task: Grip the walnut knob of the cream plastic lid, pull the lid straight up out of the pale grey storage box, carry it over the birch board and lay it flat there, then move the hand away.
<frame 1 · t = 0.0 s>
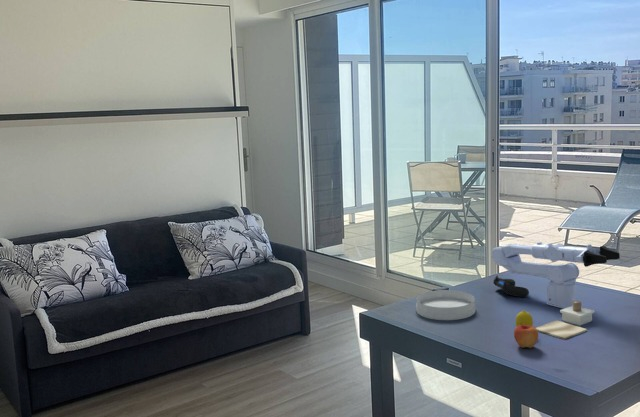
hand: (612, 257, 222), 22 cm above the table, tool horizontal, fingers open, 7 cm apart
dish: (445, 311, 244), on the table
lemon: (524, 334, 216), on the table
apple: (526, 347, 204), on the table
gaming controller: (509, 293, 261), on the table
lid: (577, 312, 224), point 3 cm above the table, touching storage box
birch board: (560, 330, 217), on the table
storage box: (577, 320, 225), on the table
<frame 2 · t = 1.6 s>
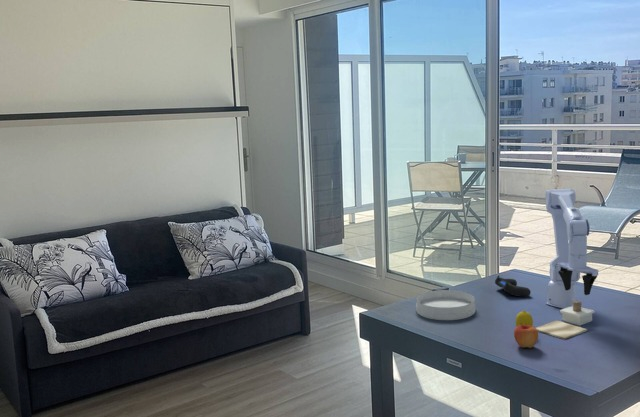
hand: (577, 292, 223), 10 cm above the table, tool pointing down, fingers open, 7 cm apart
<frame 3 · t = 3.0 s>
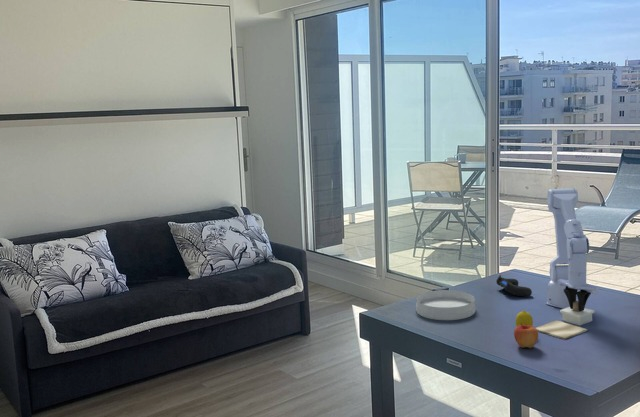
hand: (577, 309, 224), 4 cm above the table, tool pointing down, fingers closed on lid, 3 cm apart
lid: (577, 312, 224), point 3 cm above the table, touching gripper, storage box
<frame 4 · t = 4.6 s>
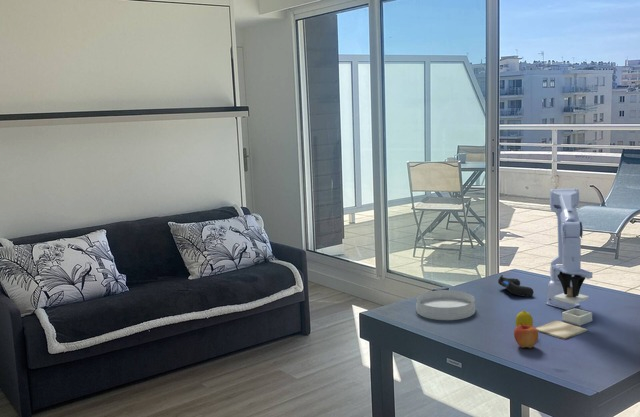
hand: (571, 295, 220), 11 cm above the table, tool pointing down, fingers closed on lid, 3 cm apart
lid: (571, 298, 220), point 9 cm above the table, touching gripper
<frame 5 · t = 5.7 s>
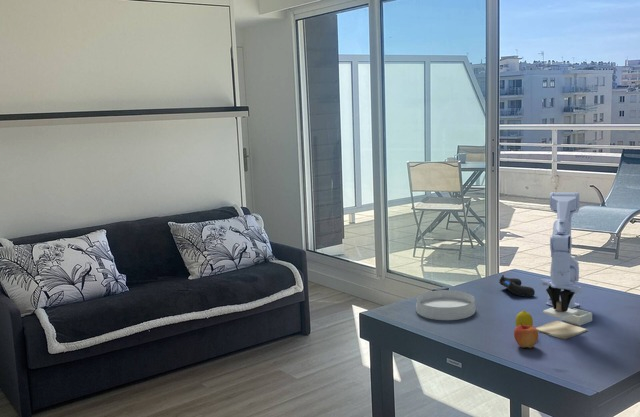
hand: (560, 309, 215), 7 cm above the table, tool pointing down, fingers closed on lid, 3 cm apart
lid: (560, 313, 216), point 6 cm above the table, touching gripper
when the fingers open (4 cm above the table, at t = 6.5 s): lid drops 1 cm, resting on birch board.
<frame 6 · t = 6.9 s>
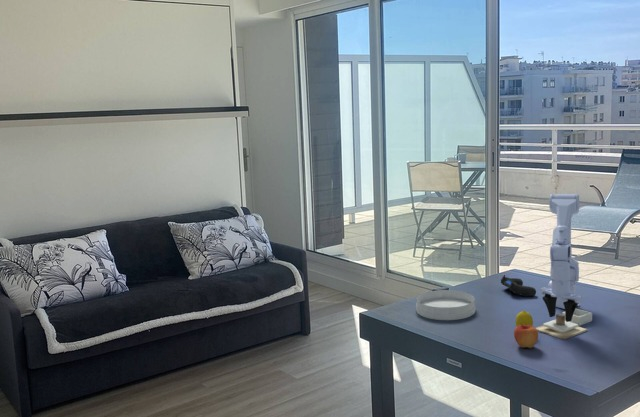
hand: (560, 318, 216), 4 cm above the table, tool pointing down, fingers open, 6 cm apart
lid: (560, 326, 216), point 1 cm above the table, touching birch board
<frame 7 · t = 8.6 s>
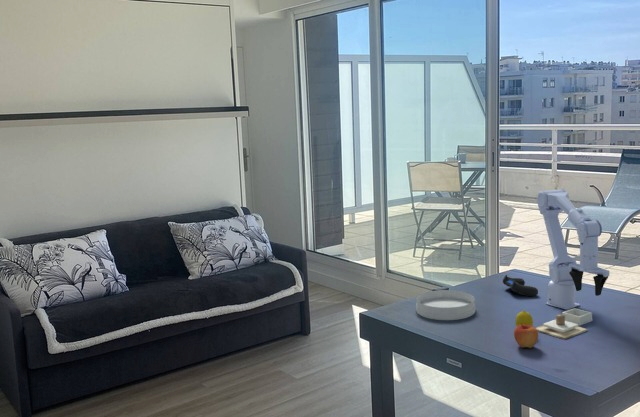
hand: (588, 292, 225), 9 cm above the table, tool pointing down, fingers open, 7 cm apart
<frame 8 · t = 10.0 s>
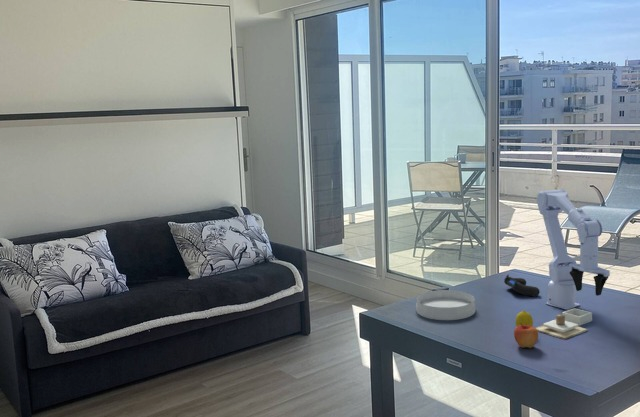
hand: (588, 292, 225), 9 cm above the table, tool pointing down, fingers open, 7 cm apart
at the end: lid inside the target area on the birch board (0.1 cm from its centre), point 1.4 cm above the birch board's base; lid tilted 0°; the gripper is holding nothing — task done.
